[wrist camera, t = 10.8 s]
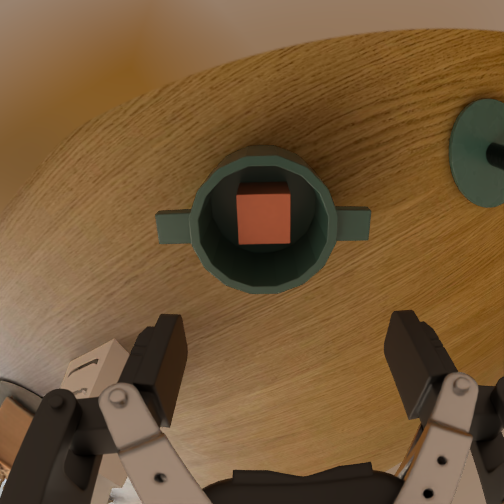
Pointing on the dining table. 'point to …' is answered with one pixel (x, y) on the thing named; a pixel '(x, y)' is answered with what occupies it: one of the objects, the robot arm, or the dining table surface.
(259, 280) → the pot
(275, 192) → the block
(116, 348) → the grater
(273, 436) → the dining table surface
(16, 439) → the planter
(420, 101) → the dining table surface
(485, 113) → the lid
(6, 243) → the dining table surface
